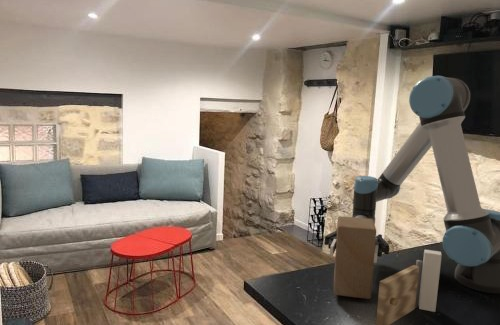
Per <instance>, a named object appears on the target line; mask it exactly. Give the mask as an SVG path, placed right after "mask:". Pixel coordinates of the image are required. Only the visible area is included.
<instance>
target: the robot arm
mask: <svg viewBox="0 0 500 325" xmlns="http://www.w3.org/2000/svg"><path fill="white" fill-rule="evenodd" d="M408 99H409V100H408V102H409V106H410V109H411V110H412V112H413V113H414V114H415V115H416V116H418V118H419V123H418V124H417V125H416V127H415V129H414V130H413V131H412V132H411V134H410V135H409V136H408V138H407V139H406V141H405V142H404V143H403V145H402V146H401V147H400V148H399V150H398V151H397V152H396V154H395V155H394V157H393V158H392V159H391V161H390V162H389V163H388V165H387V166H386V167H385V169H384V170H383V171H382V173H381V175H379V177H378V178H376V177H375V176H372V175H371V176H368V175H359V176H357V177H356V178H355V181H354V186H353V202H352V213H351V214H352V215H351V217H354V218H366V219H373V221H374V225H375V224H376V210H377V209H376V208H377V202H380V201H383V200H388V199H391V198H393V197H395V196H396V195H398V194H399V193H400V190H401V186H402V184H403V183H404V181H405V180H406V179H407V178H408V177H409V176H410V174H411V173H412V171H413V170H414V169H415V168H416V166H418V164H419V163H420V161H421V160H422V159H423V158H424V156H425V155H426V154H427V153H428V151H429V150H430V149H431V148H432V152H433V156H434V160H435V164H436V168H437V174H438V178H439V181H440V185H441V190H442V193H443V194H442V195H443V198H444V202H445V206H446V211H447V212H446V214H445V215H444V217H443V223H444V228H445V233H444V234H443V237H442V247H443V251H444V252H445V254H446V255H447V256H448V257H449V258H450V260H452V261H454V262H455V263H456V267H455V269H454V279H455V280H456V281H457V282H458V283H459V284H461V285H463V286H464V287H466V288H469V289H471V290H475V291H478V292H482V293H486V294H499V295H500V211H498V210H492V209H488V208H487V209H486V208H484V207H483V208H482V206H481V205H482V204H481V202H480V199H479V198H480V197H479V195H478V194H479V193H478V190H477V185H476V181H475V178H474V174H473V168H472V166H471V162H470V157H469V153H468V148H467V144H466V140H465V137H464V133H463V128H462V123H463V121H464V120H465V118H466V115H465V111H466V109H467V108H468V106H469V105H470V101H471V90H470V89H469V86H468V85H467V84H466V83H465V81H463V80H461V79H459V78H455V77H446V76H442V75H433V76H432V75H431V76H426V77H424V78H421V79H420V80H419V81H417V82H416V83H415V84H414V85H413V87H412V89H411V90H410V94H409V98H408ZM375 226H376V225H375ZM336 240H337V229H336V230H334V231H332V232H330V233H328V234H326V235H325V236H324V243H323V244H324V245H325V246H327V249H329V256H331V257H333V256H334V254H335V253H336ZM383 254H384V255H389V254H390V245H389V243H388V242H387V241H386V240H385V239H384V238H383V235H382V234H379V233H378V234H377V235H376V242H375V253H374V264H377V261H378V258H379V257H383Z"/></svg>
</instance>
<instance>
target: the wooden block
mask: <svg viewBox="0 0 500 325" xmlns="http://www.w3.org/2000/svg"><path fill="white" fill-rule="evenodd" d="M336 227H337V228H336V230H337V240H336V249H335V253H334V254H335V255H334V269H333V270H334V271H333V272H334V273H333V295H335V296H342V297H350V298H359V299H367V300H370V299H371V298H372V289H373V288H372V287H373V278H374V276H373V275H374V267H375V266H374V264H375V263H374V253H375V242H376V236H377V228H376V225H374V221H373V219H366V218H354V217H352V216H351V217H350V216H341V215H339V216H338V217H337V226H336Z"/></svg>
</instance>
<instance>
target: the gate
mask: <svg viewBox="0 0 500 325" xmlns="http://www.w3.org/2000/svg"><path fill="white" fill-rule="evenodd" d="M418 274H419V267H418V266H416V264H412V265H410V266H409V267H406V268H404V269H402V270H400V271H398V272H396V273H394V274H392V275H390V276H388V277H385V278H384V279H381V280H379V286H378V297H377V307H376V308H377V309H376V321H375V322H376V323H375V325H392V324H393V323H395V322H396V321H398V320H399V319H401V318H403V317H405V316H406V315H408V314H410V313H411V312H413V311H414V310H415V309H416V307H415V303H416V294H417V284H418Z"/></svg>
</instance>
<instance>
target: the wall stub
mask: <svg viewBox="0 0 500 325" xmlns="http://www.w3.org/2000/svg"><path fill="white" fill-rule="evenodd" d="M441 264H442V252H441V251H438V250H433V249H432V250H431V249H424V251H423V259H422V260H421V259H416V261H415V266H418V267H419V274H418V284H417V294H416V303H415V309H416V308H418V309H419V310H423V311H429V312H433V313H435V312H436V308H437V301H438V292H439V291H438V290H439V282H440V281H439V280H440V274H441Z"/></svg>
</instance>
